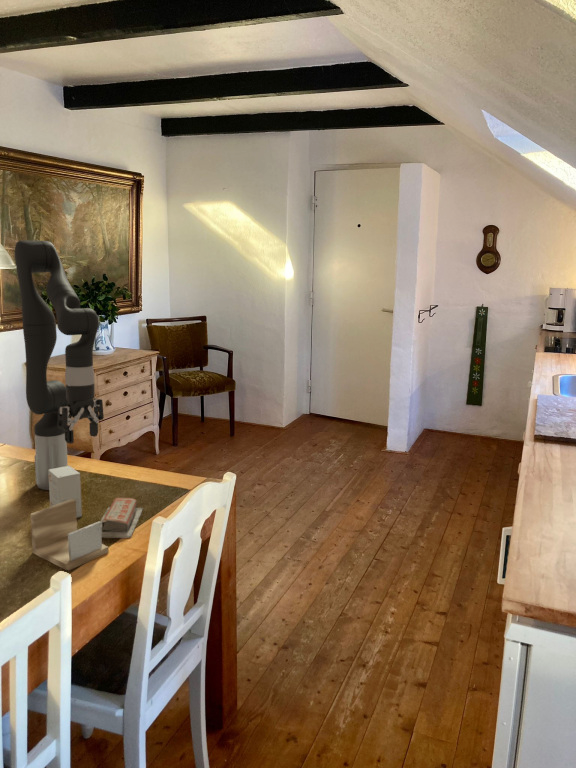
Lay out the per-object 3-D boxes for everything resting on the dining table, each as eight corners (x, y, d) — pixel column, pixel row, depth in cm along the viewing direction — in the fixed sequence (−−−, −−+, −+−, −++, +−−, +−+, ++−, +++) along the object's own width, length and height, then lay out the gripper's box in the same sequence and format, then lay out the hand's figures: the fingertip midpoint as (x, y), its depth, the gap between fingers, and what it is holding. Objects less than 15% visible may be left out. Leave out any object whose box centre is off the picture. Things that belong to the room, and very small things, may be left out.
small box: (82, 517, 182) (80, 473, 179) (60, 522, 178) (58, 477, 175) (71, 507, 188) (69, 464, 186) (49, 512, 184) (47, 469, 182)
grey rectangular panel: (69, 560, 155) (67, 533, 153) (99, 547, 162) (99, 521, 160) (71, 561, 154) (69, 534, 153) (102, 548, 161) (101, 522, 160)
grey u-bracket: (32, 553, 161) (30, 513, 159) (73, 536, 170) (72, 498, 168) (67, 570, 153) (65, 529, 151) (108, 552, 162) (107, 513, 160)
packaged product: (108, 495, 187) (142, 496, 187) (108, 511, 188) (143, 511, 188) (92, 522, 169) (130, 522, 170) (92, 539, 170) (131, 540, 171)
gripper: (89, 376, 184) (91, 431, 187) (49, 384, 172) (51, 443, 175) (109, 379, 181) (110, 436, 184) (69, 387, 168) (71, 447, 171)
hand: (81, 439), depth 179 cm, fingers open, 8 cm apart
